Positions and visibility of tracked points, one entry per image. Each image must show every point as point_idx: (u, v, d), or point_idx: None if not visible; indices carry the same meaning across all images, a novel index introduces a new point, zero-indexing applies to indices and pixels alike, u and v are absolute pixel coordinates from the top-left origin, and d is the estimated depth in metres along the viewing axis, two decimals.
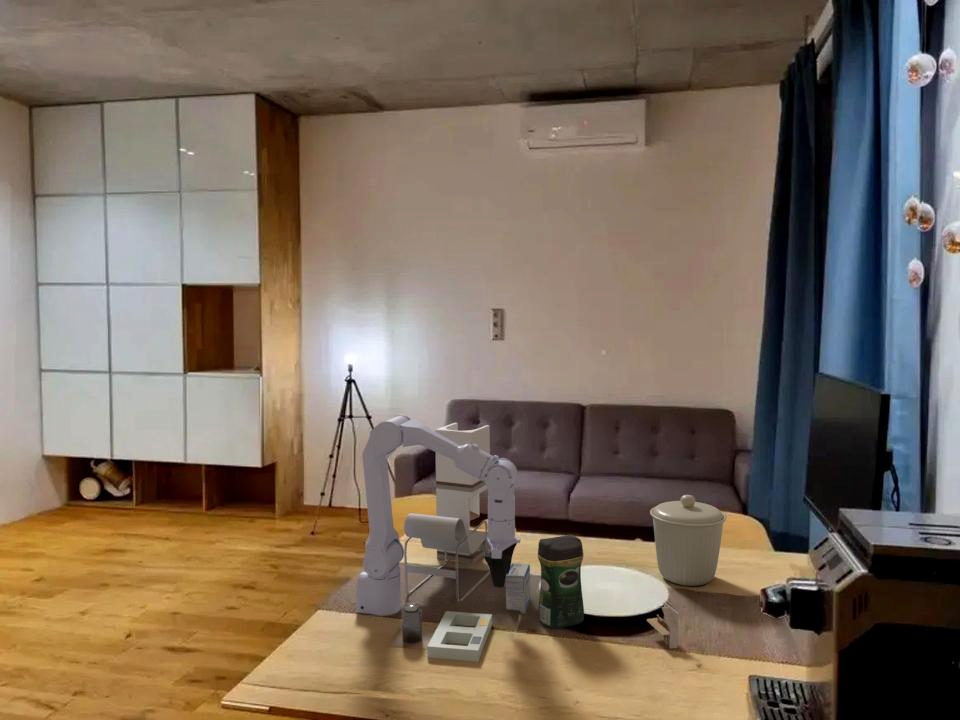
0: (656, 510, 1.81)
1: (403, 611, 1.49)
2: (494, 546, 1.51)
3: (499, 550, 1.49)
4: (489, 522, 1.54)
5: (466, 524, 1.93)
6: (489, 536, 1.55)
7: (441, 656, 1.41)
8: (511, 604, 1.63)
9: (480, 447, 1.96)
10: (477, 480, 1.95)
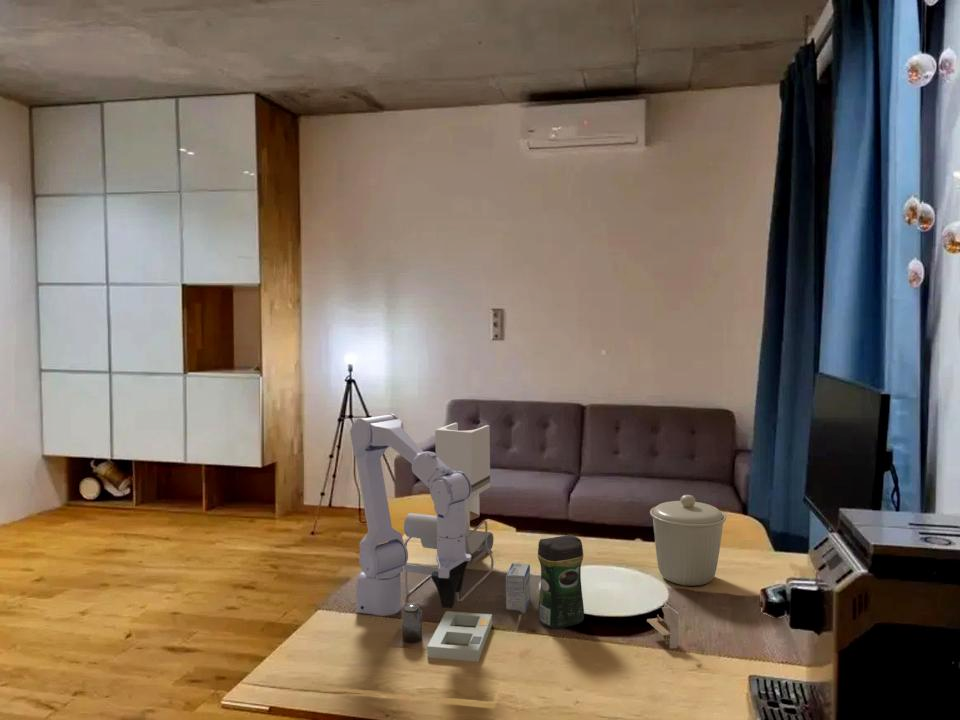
0: (656, 510, 1.81)
1: (403, 611, 1.49)
2: (442, 564, 1.43)
3: (446, 569, 1.40)
4: (438, 539, 1.46)
5: (466, 524, 1.93)
6: (438, 553, 1.46)
7: (441, 656, 1.41)
8: (511, 604, 1.63)
9: (480, 447, 1.96)
10: (477, 480, 1.95)
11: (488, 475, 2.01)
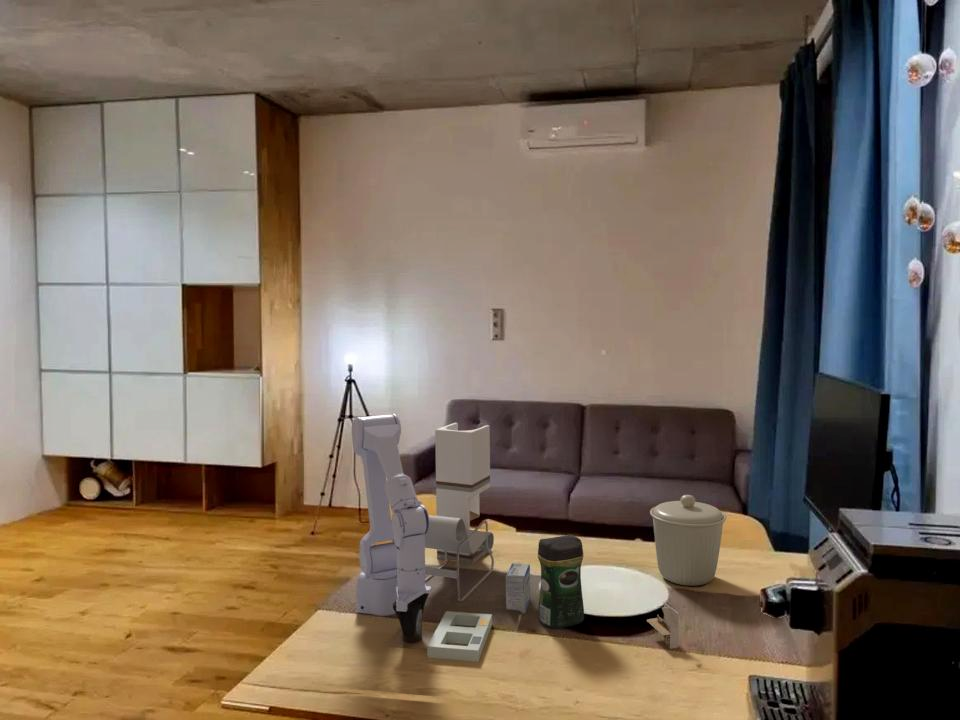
0: (656, 510, 1.81)
1: None
2: (401, 597, 1.44)
3: (404, 603, 1.42)
4: (397, 571, 1.47)
5: (466, 524, 1.93)
6: (398, 586, 1.48)
7: (441, 656, 1.41)
8: (511, 604, 1.63)
9: (480, 447, 1.96)
10: (477, 480, 1.95)
11: (488, 475, 2.01)
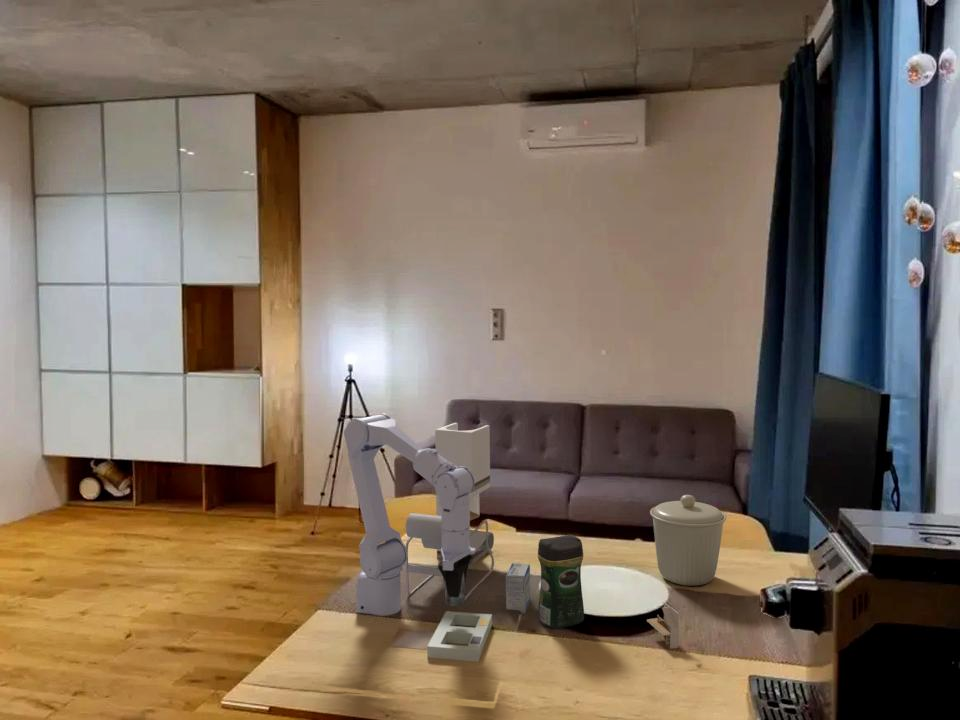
0: (656, 510, 1.81)
1: None
2: (446, 557, 1.46)
3: (450, 562, 1.44)
4: (442, 532, 1.49)
5: None
6: (442, 547, 1.50)
7: (441, 656, 1.41)
8: (511, 604, 1.63)
9: (480, 447, 1.96)
10: (477, 480, 1.95)
11: (488, 475, 2.01)
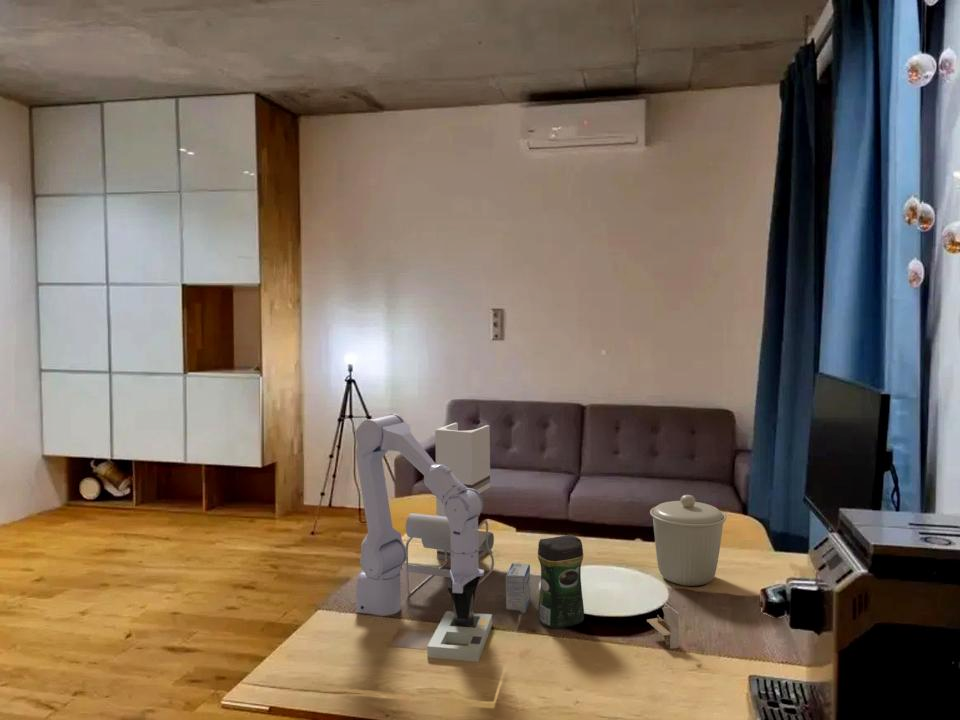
0: (656, 510, 1.81)
1: None
2: (456, 580, 1.47)
3: (460, 584, 1.45)
4: (451, 554, 1.50)
5: None
6: (452, 569, 1.50)
7: (441, 656, 1.41)
8: (511, 604, 1.63)
9: (480, 447, 1.96)
10: (477, 480, 1.95)
11: (488, 475, 2.01)
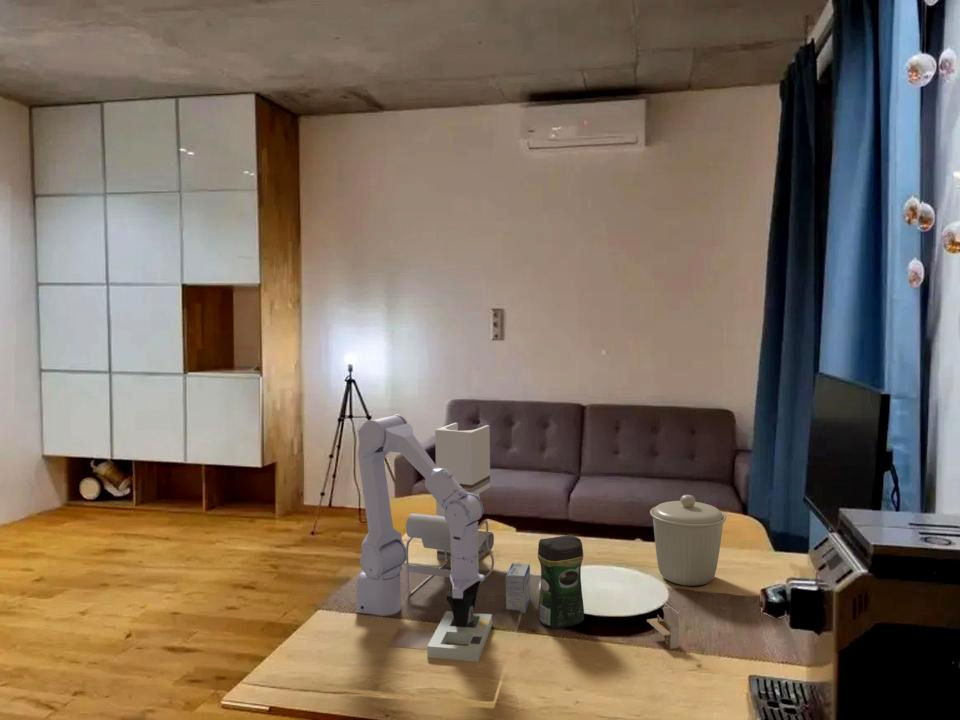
0: (656, 510, 1.81)
1: None
2: (456, 585, 1.47)
3: (460, 590, 1.45)
4: (451, 559, 1.50)
5: None
6: (452, 574, 1.51)
7: (441, 656, 1.41)
8: (511, 604, 1.63)
9: (480, 447, 1.96)
10: (477, 480, 1.95)
11: (488, 475, 2.01)
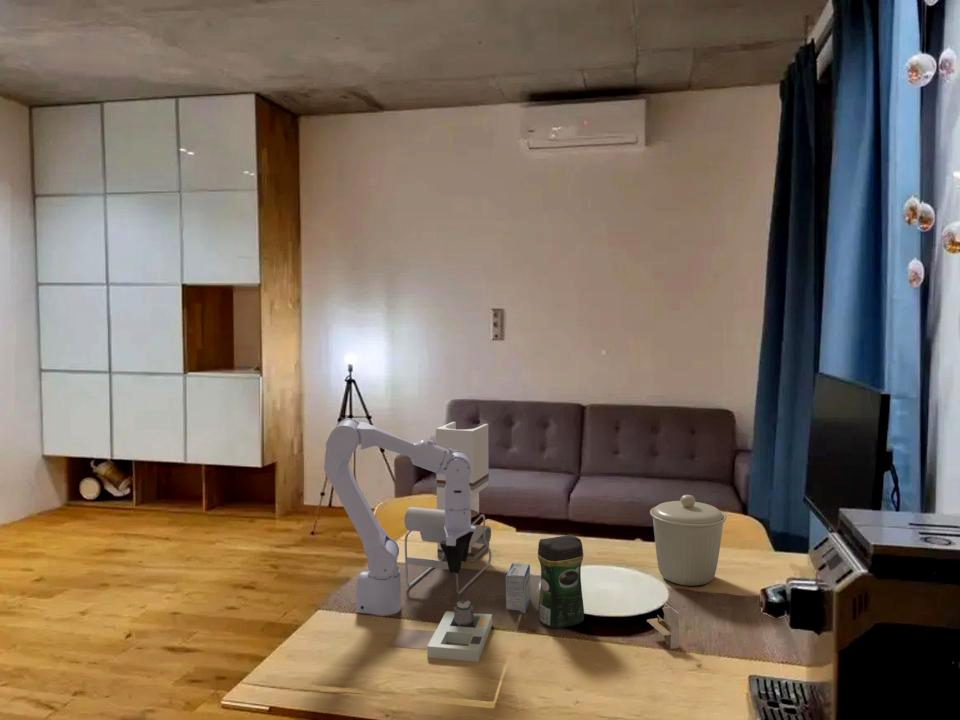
0: (656, 510, 1.81)
1: (456, 608, 1.52)
2: (449, 534, 1.59)
3: (453, 538, 1.56)
4: (445, 511, 1.62)
5: None
6: (445, 525, 1.62)
7: (441, 656, 1.41)
8: (511, 604, 1.63)
9: (480, 445, 1.98)
10: (478, 478, 1.97)
11: (487, 473, 2.03)
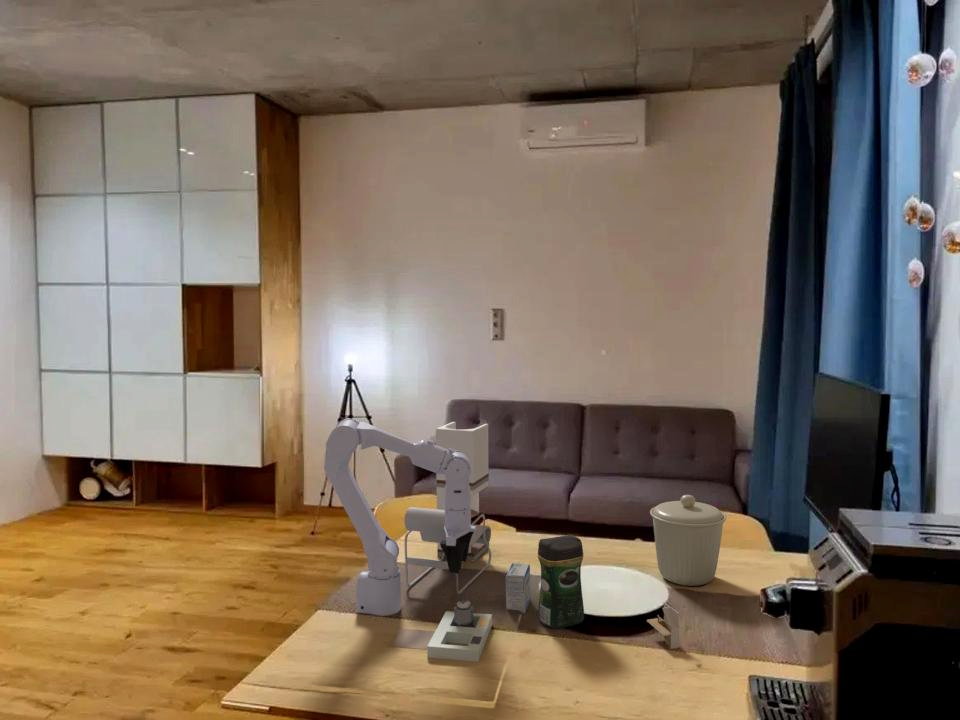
0: (656, 510, 1.81)
1: (456, 609, 1.52)
2: (449, 534, 1.59)
3: (453, 538, 1.57)
4: (445, 511, 1.62)
5: None
6: (445, 525, 1.62)
7: (441, 656, 1.41)
8: (511, 604, 1.63)
9: (480, 445, 1.98)
10: (477, 478, 1.97)
11: (487, 473, 2.03)
